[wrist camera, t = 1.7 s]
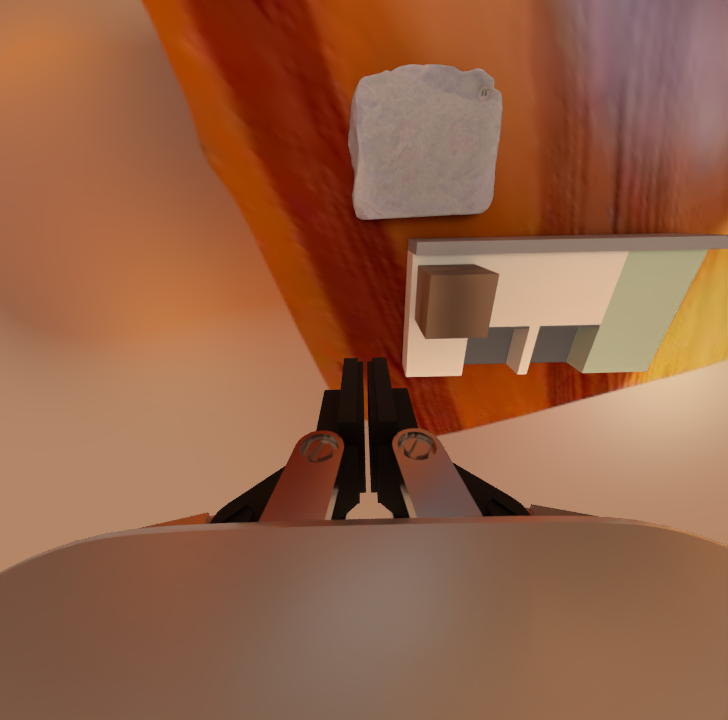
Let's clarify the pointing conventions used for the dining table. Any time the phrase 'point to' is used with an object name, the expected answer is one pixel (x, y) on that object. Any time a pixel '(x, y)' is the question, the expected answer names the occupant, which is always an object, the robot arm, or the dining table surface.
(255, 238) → the dining table surface
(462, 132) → the stone block
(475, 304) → the walnut cube
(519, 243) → the box
